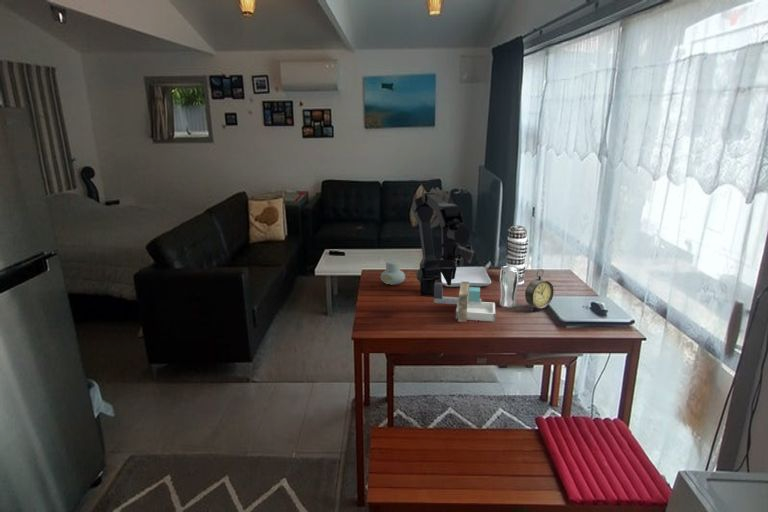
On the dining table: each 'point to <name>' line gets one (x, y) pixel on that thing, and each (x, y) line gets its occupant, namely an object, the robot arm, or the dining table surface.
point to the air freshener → (392, 273)
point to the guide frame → (463, 301)
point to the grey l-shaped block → (448, 300)
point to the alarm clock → (539, 293)
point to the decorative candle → (517, 250)
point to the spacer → (474, 294)
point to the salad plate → (469, 277)
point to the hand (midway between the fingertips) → (451, 282)
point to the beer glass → (508, 285)
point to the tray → (480, 312)
